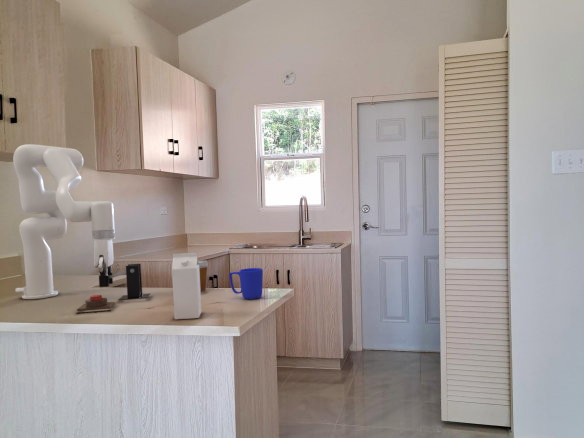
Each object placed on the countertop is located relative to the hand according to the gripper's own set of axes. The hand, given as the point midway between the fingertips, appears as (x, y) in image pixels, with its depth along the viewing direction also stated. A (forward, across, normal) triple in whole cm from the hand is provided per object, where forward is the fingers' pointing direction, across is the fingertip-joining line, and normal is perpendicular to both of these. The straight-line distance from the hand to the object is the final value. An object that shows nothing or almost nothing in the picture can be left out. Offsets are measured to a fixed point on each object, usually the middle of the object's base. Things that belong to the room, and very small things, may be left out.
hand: (106, 284), depth 169 cm
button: (+3, +14, 0) cm, 14 cm away
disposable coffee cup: (+6, -4, +32) cm, 33 cm away
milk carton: (+6, +34, +31) cm, 46 cm away
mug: (+6, +13, +50) cm, 52 cm away
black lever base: (+6, 0, +10) cm, 12 cm away
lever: (-3, 0, +6) cm, 6 cm away
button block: (+6, +14, 0) cm, 15 cm away
